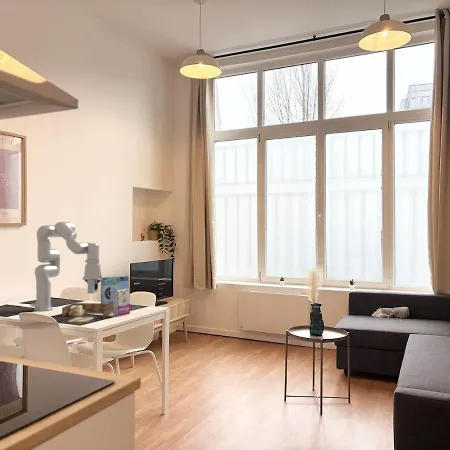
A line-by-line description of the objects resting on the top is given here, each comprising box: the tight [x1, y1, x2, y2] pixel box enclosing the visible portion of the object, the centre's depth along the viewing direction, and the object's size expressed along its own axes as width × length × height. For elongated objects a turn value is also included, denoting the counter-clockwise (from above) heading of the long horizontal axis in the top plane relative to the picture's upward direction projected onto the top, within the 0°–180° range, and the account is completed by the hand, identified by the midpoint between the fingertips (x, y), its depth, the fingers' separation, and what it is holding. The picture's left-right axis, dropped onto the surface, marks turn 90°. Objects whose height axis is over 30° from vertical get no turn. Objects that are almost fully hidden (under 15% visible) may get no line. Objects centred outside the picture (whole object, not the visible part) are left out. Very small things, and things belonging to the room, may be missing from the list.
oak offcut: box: [68, 310, 85, 317], centre depth 308 cm, size 7×9×3 cm
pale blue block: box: [87, 279, 99, 295], centre depth 304 cm, size 4×10×9 cm, turn 178°
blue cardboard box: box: [100, 274, 129, 304], centre depth 333 cm, size 20×5×23 cm, turn 123°
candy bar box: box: [112, 288, 131, 317], centre depth 308 cm, size 11×5×16 cm, turn 148°
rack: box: [61, 302, 113, 318], centre depth 308 cm, size 28×18×6 cm, turn 86°
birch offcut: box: [70, 305, 83, 312], centre depth 308 cm, size 6×8×3 cm
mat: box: [67, 316, 94, 323], centre depth 290 cm, size 12×13×1 cm
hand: (92, 289), depth 304 cm, fingers closed on pale blue block, 3 cm apart
